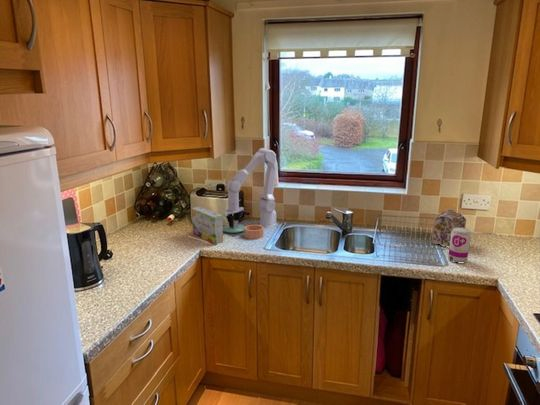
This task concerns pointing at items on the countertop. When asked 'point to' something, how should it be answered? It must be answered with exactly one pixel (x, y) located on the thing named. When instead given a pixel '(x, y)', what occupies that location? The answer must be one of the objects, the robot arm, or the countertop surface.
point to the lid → (234, 228)
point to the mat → (233, 233)
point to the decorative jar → (446, 226)
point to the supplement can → (459, 245)
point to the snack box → (207, 225)
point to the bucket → (254, 231)
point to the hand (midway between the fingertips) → (233, 226)
